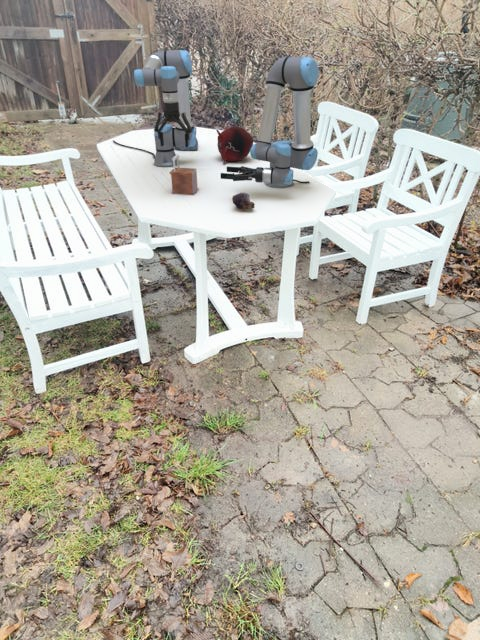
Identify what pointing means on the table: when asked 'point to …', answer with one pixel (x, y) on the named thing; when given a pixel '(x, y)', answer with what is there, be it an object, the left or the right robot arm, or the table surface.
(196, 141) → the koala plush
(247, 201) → the rock
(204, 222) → the table surface
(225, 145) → the decorative skull
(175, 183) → the chest
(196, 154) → the table surface
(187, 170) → the lid
